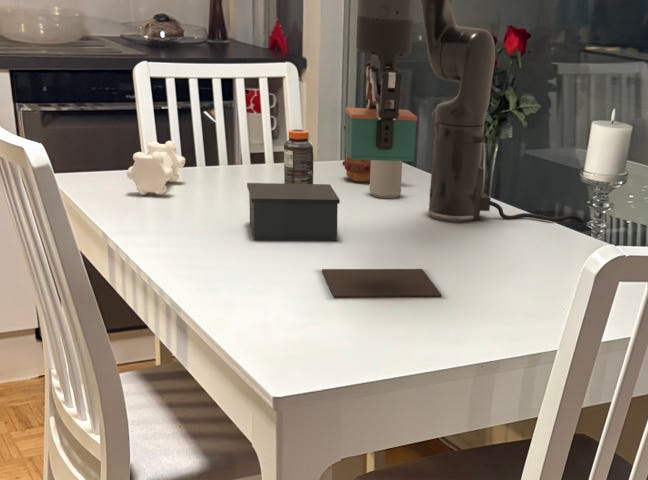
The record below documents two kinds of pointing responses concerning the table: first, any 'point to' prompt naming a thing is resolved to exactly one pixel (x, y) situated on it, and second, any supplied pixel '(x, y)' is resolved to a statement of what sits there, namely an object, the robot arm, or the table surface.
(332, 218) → the bottom box
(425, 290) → the mat
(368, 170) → the mug
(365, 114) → the orange and teal box
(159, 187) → the white bone
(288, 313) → the table surface
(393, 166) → the beverage can
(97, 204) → the table surface
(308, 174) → the pill bottle
